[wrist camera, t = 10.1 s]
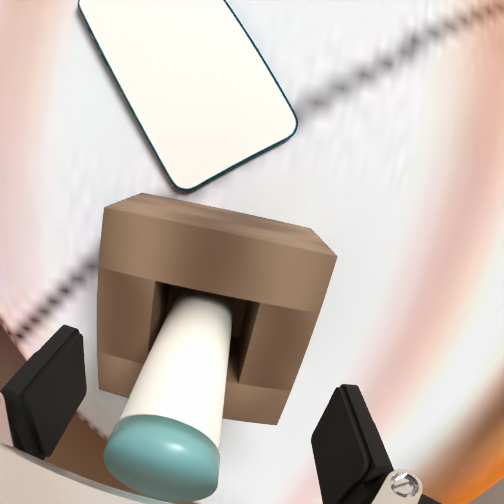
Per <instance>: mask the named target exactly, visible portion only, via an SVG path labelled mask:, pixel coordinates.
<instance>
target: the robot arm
mask: <svg viewBox="0 0 504 504" xmlns="http://www.w3.org/2000/svg"><path fill="white" fill-rule="evenodd" d="M86 390H87V387H86V376H85V364H84V349H83V336H82V334H79V330H78V329H76V328H73V327H70V326H67V325H63V326H62V327H61V328H60V329H59V330H58V331H57V332H56V333H55V334H54V335H53V336H52V337H51V338H50V339H49V340H48V341H47V342H46V343H45V344H44V345H43V346H42V347H41V349H40V350H39V351H37V352H35V353H34V354H33V355H32V356H31V357H30V359H29V360H28V361H27V362H26V363H25V364H24V365H23V366H22V367H21V368H20V369H19V371H18V372H17V373H16V374H15V375H14V376H13V377H12V378H11V380H10V381H9V382H8V383H7V384H6V385H5V386H4V387H3V389H2V390H1V391H0V504H173V503H168V502H164V501H160V500H155V499H151V498H147V497H144V496H140V495H136V494H133V493H129V492H126V491H122V490H119V489H115V488H112V487H109V486H107V485H104V484H101V483H98V482H95V481H92V480H90V479H87V478H84V477H82V476H79V475H76V474H74V473H71V472H69V471H66V470H64V469H61V468H59V467H57V466H54V465H52V464H50V463H47V462H45V461H43V460H44V459H45V457H46V456H47V457H50V455H51V454H52V452H53V451H54V449H55V447H56V445H57V443H58V442H59V440H60V438H61V436H62V435H63V433H64V431H65V429H66V428H67V426H68V424H69V422H70V420H71V419H72V417H73V415H74V414H75V412H76V410H77V409H78V407H79V405H80V404H81V402H82V400H83V399H84V397H85V395H86ZM311 444H312V449H313V454H314V459H315V464H316V469H317V474H318V480H319V485H320V490H321V495H322V501H323V504H441V503H439V502H437V501H435V500H433V499H431V498H429V497H427V496H425V495H423V494H422V490H423V487H422V483H421V481H420V479H419V478H418V477H417V476H416V475H415V474H413V473H412V472H410V471H407V470H395V471H394V469H393V467H392V464H391V462H390V459H389V457H388V454H387V452H386V450H385V447H384V445H383V442H382V440H381V437H380V435H379V433H378V430H377V428H376V425H375V423H374V422H373V420H372V418H371V415H370V413H369V410H368V408H367V406H366V403H365V401H364V399H363V396H362V394H361V392H360V390H359V387H358V386H357V385H347V384H342V385H341V386H340V388H339V387H337V388H336V389H335V391H334V393H333V395H332V397H331V399H330V401H329V403H328V405H327V407H326V409H325V411H324V413H323V415H322V417H321V419H320V421H319V423H318V425H317V427H316V428H315V430H314V432H313V434H312V438H311Z"/></svg>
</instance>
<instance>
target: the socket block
mask: <svg viewBox="0 0 504 504" xmlns="http://www.w3.org/2000/svg"><path fill="white" fill-rule="evenodd" d="M336 259H337V255H336V254H335V253H334V252H333V251H332V250H331V249H330V248H329V247H328V246H327V245H326V244H325V243H324V242H323V241H322V240H321V239H320V238H319V236H318V235H317V234H316V233H315V232H314V231H313V230H312V229H310V228H306V227H302V226H297V225H293V224H289V223H284V222H280V221H275V220H271V219H266V218H262V217H257V216H253V215H248V214H244V213H239V212H234V211H230V210H225V209H220V208H215V207H211V206H206V205H201V204H196V203H191V202H186V201H181V200H176V199H171V198H166V197H161V196H155V195H150V194H145V193H140V194H138V195H135V196H132V197H130V198H127V199H124V200H122V201H119V202H117V203H114V204H111V205H109V206H106V207H104V214H103V223H102V232H101V243H100V256H99V271H98V293H97V358H98V379H99V389H100V390H103V391H107V392H110V393H113V394H117V395H120V396H124V397H127V398H129V396H130V394H131V392H132V390H133V388H134V385H135V383H136V381H137V379H138V377H139V374H140V372H141V370H142V368H143V366H144V364H145V361H146V359H147V357H148V355H149V353H150V351H151V349H152V347H153V344H154V342H155V340H156V338H157V336H158V334H159V332H160V330H161V328H162V326H163V324H164V322H165V319H166V317H167V315H168V313H169V311H170V309H171V307H172V305H173V303H174V301H175V299H176V297H177V295H178V293H179V291H180V289H181V287H186V288H190V289H195V290H200V291H204V292H209V293H214V294H219V295H224V296H229V297H234V298H235V302H234V311H233V320H232V329H231V338H230V348H229V357H228V366H227V376H226V385H225V395H224V405H223V414H222V418H224V419H230V420H237V421H245V422H252V423H261V424H270V425H277V423H278V421H279V419H280V416H281V414H282V411H283V409H284V407H285V404H286V402H287V399H288V397H289V394H290V392H291V389H292V387H293V384H294V381H295V379H296V376H297V374H298V371H299V368H300V366H301V363H302V360H303V358H304V355H305V352H306V350H307V347H308V344H309V341H310V338H311V336H312V333H313V330H314V327H315V324H316V321H317V318H318V315H319V313H320V310H321V307H322V304H323V301H324V298H325V294H326V291H327V288H328V285H329V282H330V279H331V276H332V272H333V269H334V266H335V263H336Z"/></svg>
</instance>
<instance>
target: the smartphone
mask: <svg viewBox="0 0 504 504" xmlns="http://www.w3.org/2000/svg"><path fill="white" fill-rule="evenodd" d="M78 7H79V10H80V12H81V14H82V16H83V18H84V20H85V22H86V24H87V26H88V29H89V31H90V33H91V34H92V36H93V38H94V41H95V43H96V45H97V47H98V49H99V50H100V52H101V55H102V57H103V59H104V61H105V63H106V65H107V66H108V67H109V69H110V71H111V73H112V75H113V77H114V79H115V81H116V82H117V84H118V86H119V88H120V90H121V92H122V94H123V96H124V98H125V99H126V101H127V103H128V105H129V107H130V109H131V111H132V113H133V114H134V116H135V118H136V120H137V122H138V124H139V125H140V127H141V129H142V131H143V133H144V135H145V136H146V138H147V140H148V142H149V144H150V145H151V147H152V149H153V151H154V153H155V154H156V156H157V158H158V160H159V162H160V163H161V165H162V167H163V169H164V171H165V172H166V174H167V176H168V178H169V179H170V181H171V182H172V184H173V185H174V186H175V187H176V188H178V189H181V190H185V191H189V190H193V189H195V188H197V187H199V186H201V185H202V184H204V183H206V182H208V181H210V180H211V179H213V178H215V177H217V176H219V175H220V174H222V173H224V172H226V171H228V170H229V169H231V168H233V167H235V166H237V165H239V164H241V163H242V162H244V161H246V160H248V159H250V158H252V157H254V156H256V155H258V154H260V153H262V152H264V151H265V150H267V149H269V148H271V147H273V146H275V145H277V144H279V143H281V142H283V141H285V140H287V139H289V138H290V137H292V136H293V135H294V134H295V132H296V130H297V127H298V119H297V117H296V114H295V112H294V110H293V109H292V107H291V105H290V103H289V101H288V100H287V98H286V96H285V94H284V92H283V91H282V89H281V87H280V85H279V84H278V82H277V80H276V79H275V77H274V75H273V73H272V72H271V70H270V68H269V67H268V65H267V63H266V62H265V60H264V59H263V57H262V55H261V54H260V52H259V50H258V49H257V47H256V46H255V44H254V42H253V41H252V39H251V38H250V36H249V35H248V33H247V32H246V30H245V28H244V27H243V25H242V24H241V22H240V21H239V19H238V18H237V16H236V15H235V13H234V12H233V10H232V9H231V8H230V6H229V5H228V3H227V2H226V0H78Z"/></svg>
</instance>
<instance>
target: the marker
mask: <svg viewBox="0 0 504 504" xmlns="http://www.w3.org/2000/svg"><path fill="white" fill-rule="evenodd" d="M234 302H235V298H234V297H229V296H224V295H219V294H214V293H209V292H204V291H200V290H195V289H190V288H186V287H181V289H180V291H179V293H178V295H177V297H176V299H175V301H174V303H173V305H172V307H171V309H170V311H169V313H168V315H167V317H166V319H165V322H164V324H163V326H162V328H161V330H160V332H159V334H158V336H157V338H156V340H155V342H154V344H153V347H152V349H151V351H150V353H149V355H148V357H147V359H146V361H145V364H144V366H143V368H142V370H141V372H140V374H139V377H138V379H137V381H136V383H135V385H134V388H133V390H132V392H131V394H130V396H129V399H128V401H127V403H126V405H125V408H124V410H123V412H122V414H121V417H120V419H119V421H118V423H117V424H116V425H115V427H114V429H113V431H112V433H111V435H110V438H109V440H108V442H107V445H106V447H105V449H104V452H103V461H104V464H105V466H106V468H107V469H108V471H109V472H110V473H111V474H112V475H113V476H114V477H115V478H116V479H117V480H118V481H120V482H121V483H123V484H124V485H126V486H127V487H129V488H131V489H133V490H135V491H137V492H139V493H141V494H144V495H147V496H150V497H153V498H157V499H161V500H166V501H174V502H191V501H197V500H201V499H204V498H206V497H208V496H210V495H211V494H213V493H214V492H215V490H216V488H217V484H218V473H219V462H220V454H219V445H220V434H221V424H222V414H223V405H224V395H225V385H226V376H227V366H228V357H229V348H230V338H231V329H232V320H233V311H234Z"/></svg>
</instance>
